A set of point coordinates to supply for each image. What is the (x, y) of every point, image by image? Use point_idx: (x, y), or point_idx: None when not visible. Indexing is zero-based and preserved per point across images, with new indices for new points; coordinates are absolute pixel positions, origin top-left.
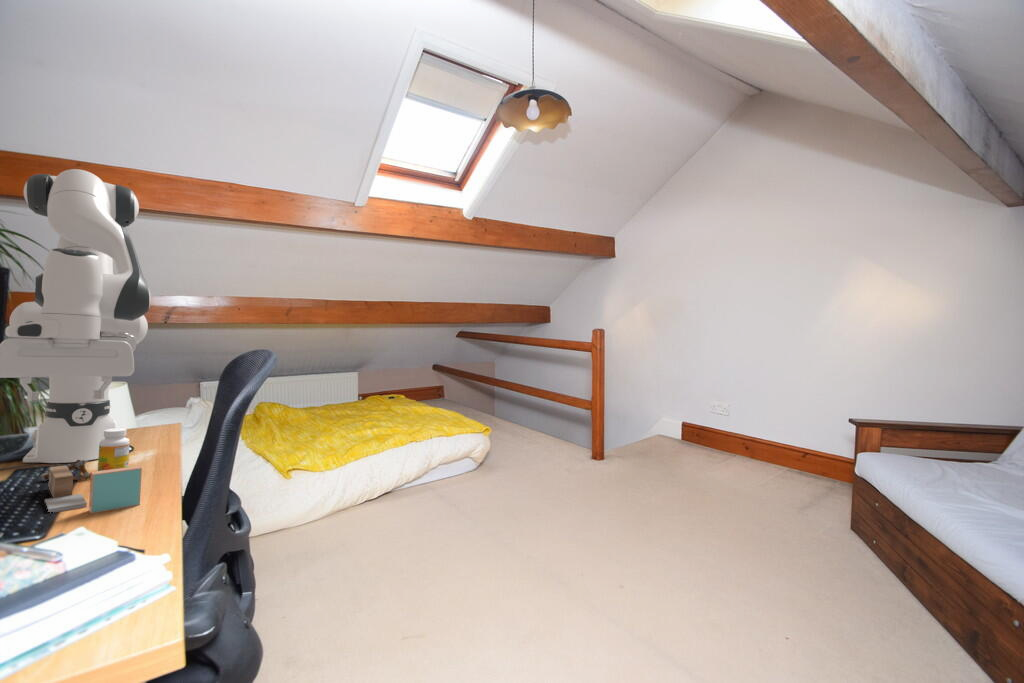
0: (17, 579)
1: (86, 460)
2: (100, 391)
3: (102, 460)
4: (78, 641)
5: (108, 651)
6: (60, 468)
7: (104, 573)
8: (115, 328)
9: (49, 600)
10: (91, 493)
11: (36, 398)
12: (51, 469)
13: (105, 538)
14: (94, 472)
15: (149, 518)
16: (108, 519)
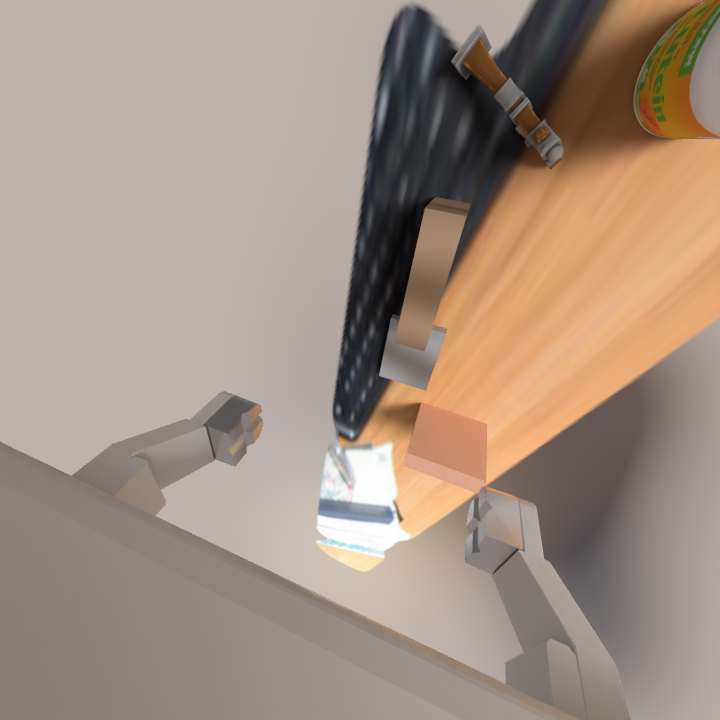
0: (325, 488)
1: (560, 156)
2: (492, 568)
3: (655, 101)
4: (336, 548)
5: (343, 559)
6: (437, 252)
7: (366, 521)
8: None
9: (334, 518)
10: (411, 436)
11: (246, 439)
12: (417, 248)
13: (393, 482)
14: (410, 458)
15: None
16: None
